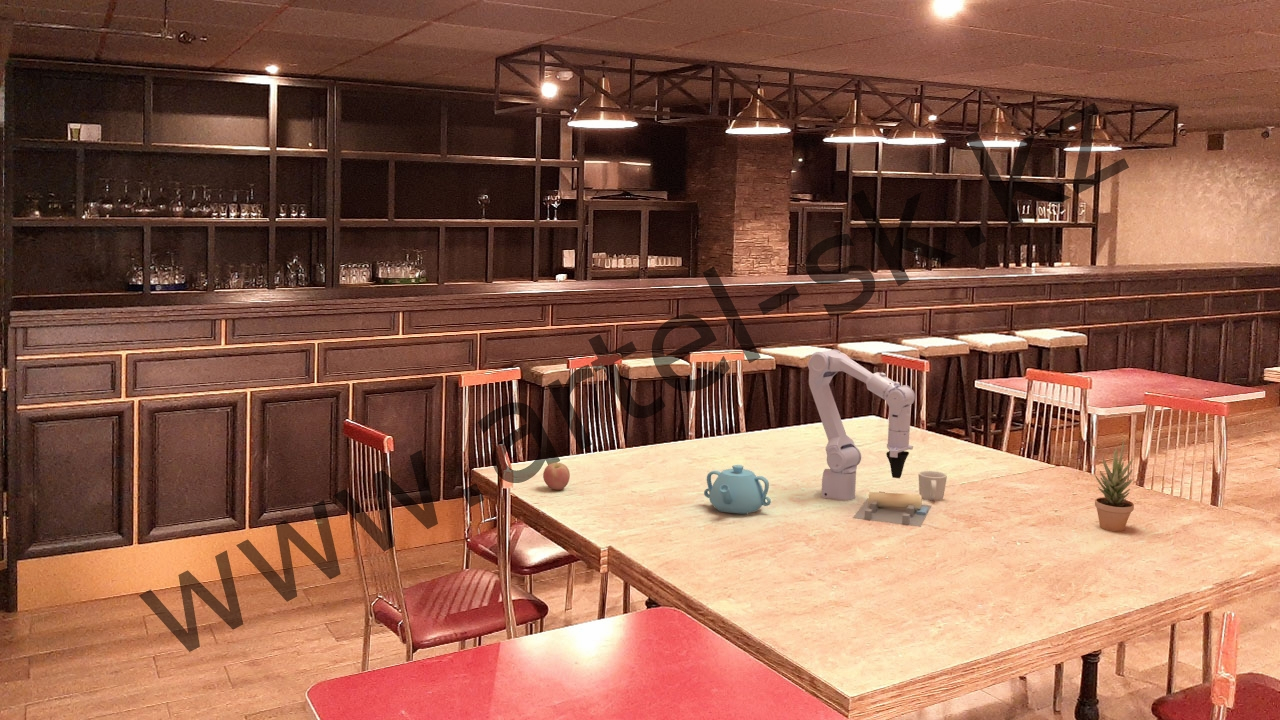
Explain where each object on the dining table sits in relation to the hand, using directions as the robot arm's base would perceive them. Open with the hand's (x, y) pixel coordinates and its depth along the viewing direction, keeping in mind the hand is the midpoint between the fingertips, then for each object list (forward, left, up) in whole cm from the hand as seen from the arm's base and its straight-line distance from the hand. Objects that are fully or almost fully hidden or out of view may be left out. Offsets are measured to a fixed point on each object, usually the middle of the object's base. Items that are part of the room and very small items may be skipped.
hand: (896, 477), depth 287 cm
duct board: (0, -3, -10) cm, 10 cm away
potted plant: (+56, +11, -10) cm, 58 cm away
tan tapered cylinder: (0, -1, -8) cm, 9 cm away
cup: (+8, +16, -10) cm, 20 cm away
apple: (-96, -20, -10) cm, 99 cm away
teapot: (-41, -19, -10) cm, 46 cm away
